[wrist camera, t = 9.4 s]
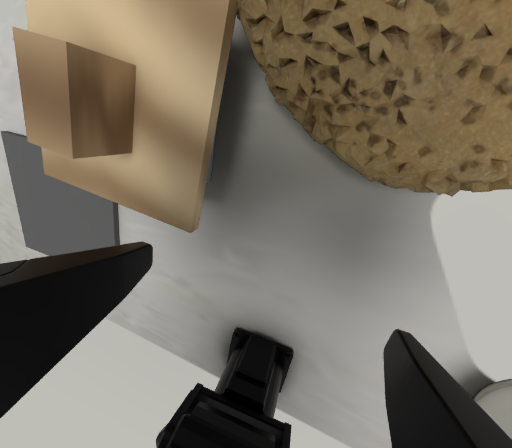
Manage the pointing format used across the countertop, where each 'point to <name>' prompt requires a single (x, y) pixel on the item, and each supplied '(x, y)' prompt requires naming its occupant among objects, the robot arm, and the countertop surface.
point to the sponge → (395, 84)
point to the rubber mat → (56, 205)
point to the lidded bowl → (498, 403)
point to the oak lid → (127, 97)
